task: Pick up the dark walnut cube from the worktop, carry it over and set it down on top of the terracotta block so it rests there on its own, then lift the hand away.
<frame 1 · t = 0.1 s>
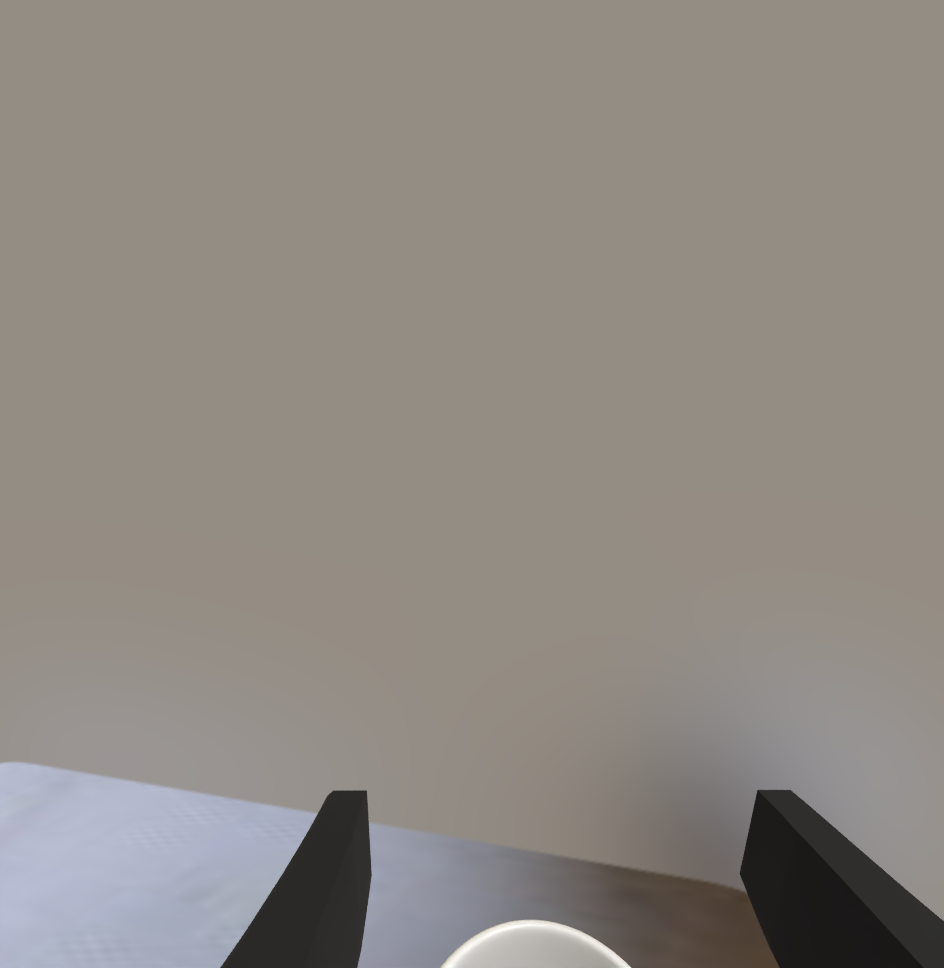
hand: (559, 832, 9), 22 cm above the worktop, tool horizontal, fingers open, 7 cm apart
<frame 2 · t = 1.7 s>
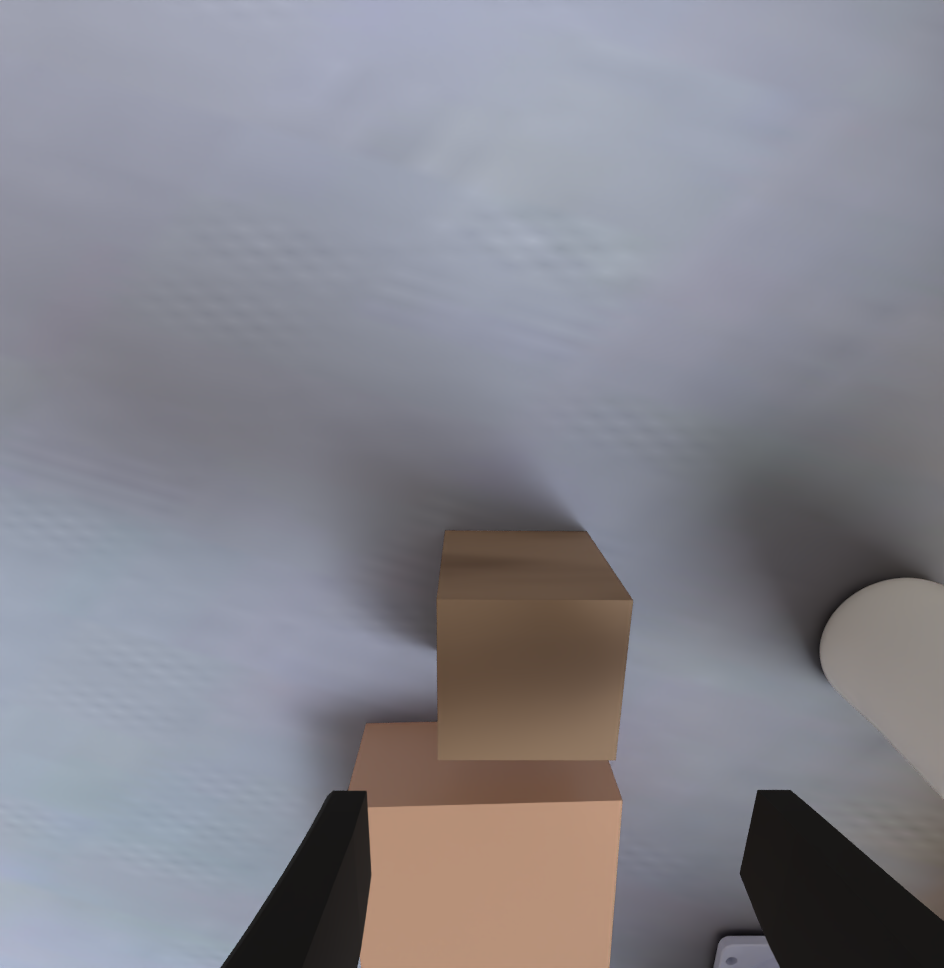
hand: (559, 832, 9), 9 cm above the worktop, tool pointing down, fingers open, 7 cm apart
terracotta block: (481, 803, 21), on the worktop
drinking glass: (877, 632, 18), on the worktop
walnut cube: (513, 593, 18), on the worktop
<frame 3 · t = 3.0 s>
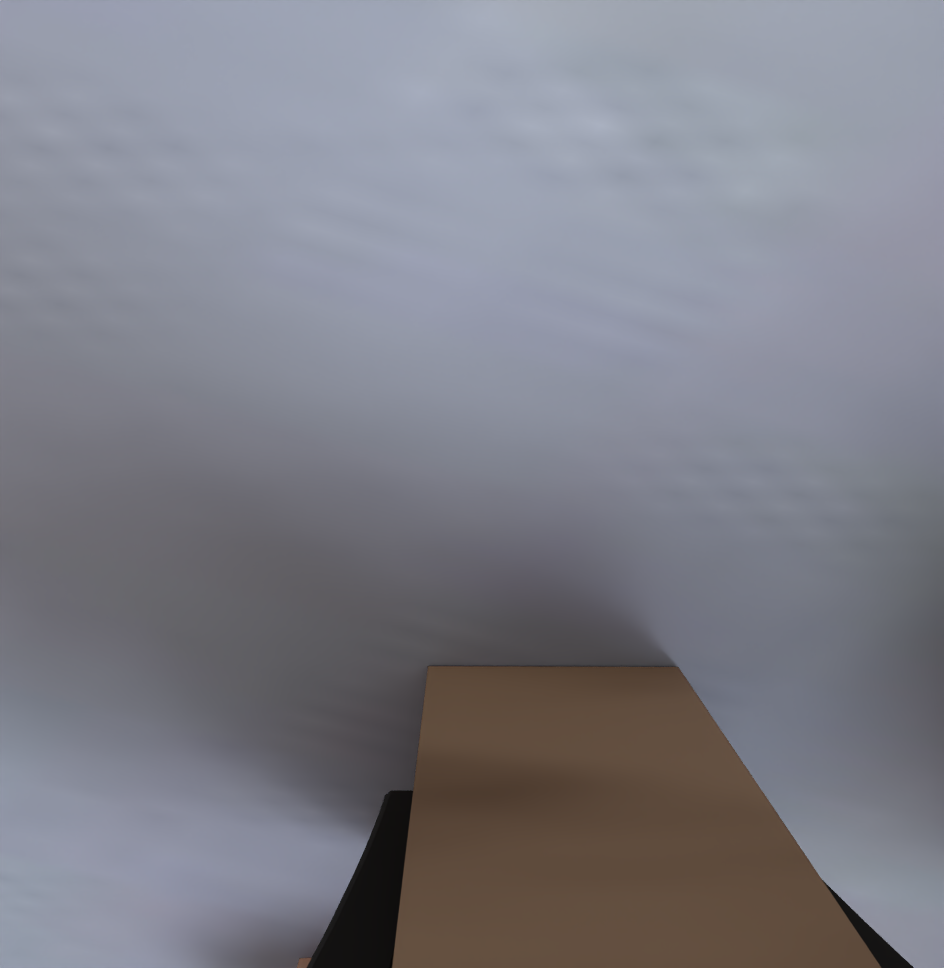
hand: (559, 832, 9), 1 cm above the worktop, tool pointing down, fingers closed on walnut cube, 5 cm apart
walnut cube: (546, 767, 10), on the worktop, touching gripper
when the fingers open (6 cm above the worktop, at t = 5.7 s): walnut cube drops 1 cm, resting on terracotta block.
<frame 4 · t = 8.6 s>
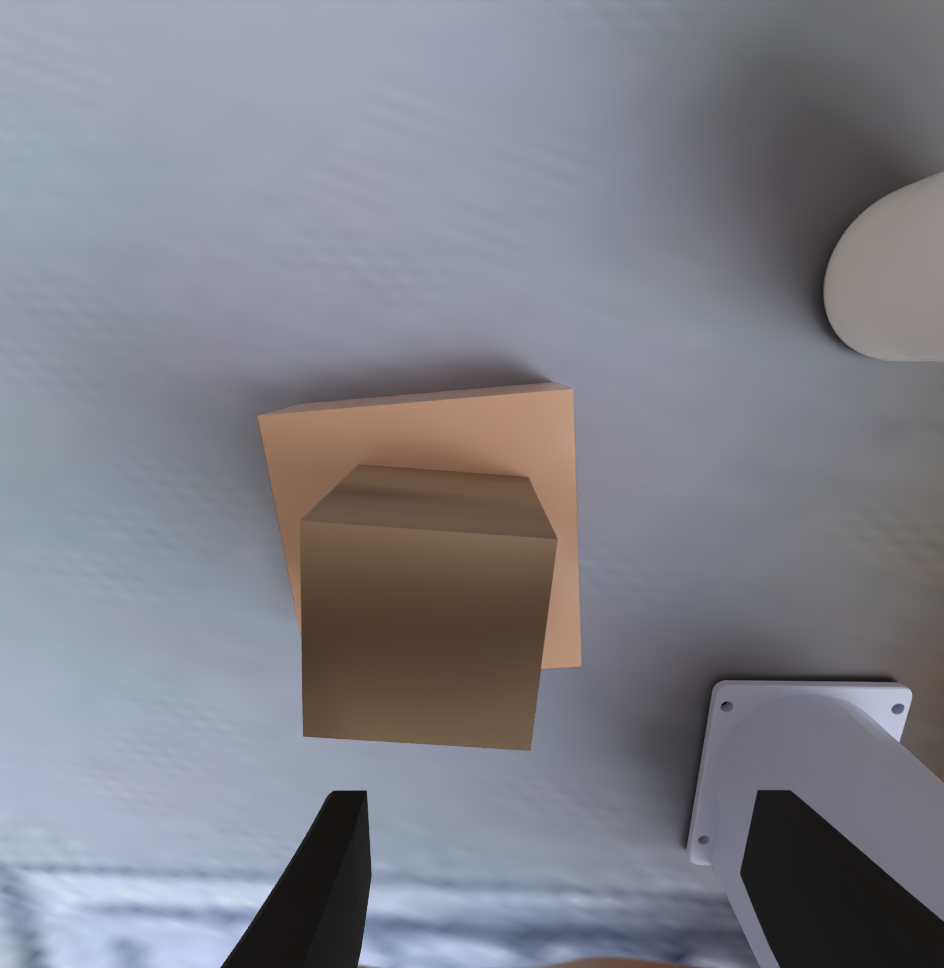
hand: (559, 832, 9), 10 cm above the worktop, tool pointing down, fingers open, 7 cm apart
terracotta block: (439, 509, 19), on the worktop, touching walnut cube
drinking glass: (889, 279, 16), on the worktop
walnut cube: (438, 549, 15), point 4 cm above the worktop, touching terracotta block
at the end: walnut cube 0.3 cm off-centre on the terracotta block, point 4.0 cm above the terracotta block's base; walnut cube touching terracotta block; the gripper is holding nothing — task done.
